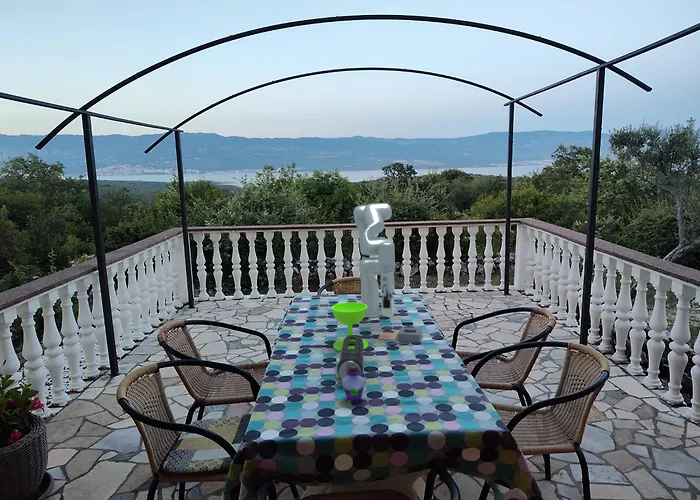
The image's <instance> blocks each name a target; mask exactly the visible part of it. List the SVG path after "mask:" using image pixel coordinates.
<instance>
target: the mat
mask: <svg viewBox="0 0 700 500" xmlns="http://www.w3.org/2000/svg"><path fill="white" fill-rule="evenodd" d="M397 338H398V332H385V331H384V332H383V331H382V332H381V333H380V334H379V336H378V337H377V340H378V341H393V342H394V341H396V339H397Z"/></svg>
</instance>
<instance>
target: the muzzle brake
mask: <svg viewBox="0 0 700 500" xmlns="http://www.w3.org/2000/svg"><path fill="white" fill-rule="evenodd" d="M344 338H345V339H344ZM344 338H343V339H344V341H343V345H342V350H341V351H340V358H339V360H338V363H337V367H336V369H337V374H338V376H339V378H341V380H342V378H345V377H347V376H349V375H347V369H349V368H348V367H349V366H351V365H357V367H358V369H359V375H358V376H361V377H363V373H364V350H365V349H364V343H363V340H364V339H363V338H361V336H359V335H356V334H353V335H350V336H348V335H347V336H346V337H344ZM362 339H363V340H362ZM349 340H356V341H349ZM349 346H355V349H348V347H349ZM363 349H364V350H363Z"/></svg>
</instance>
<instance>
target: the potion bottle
mask: <svg viewBox="0 0 700 500" xmlns="http://www.w3.org/2000/svg"><path fill="white" fill-rule="evenodd" d="M348 368H349V369H347V375H349V376H347V377H345V378H342V379H341V386H342V389H343V392H344V394H345V398H347V400H349V401H351V402H357V401H360V400H361V398H362V399H363V391H364V390H365V386H366V377H363V376H358V375H359V369H358V367H357V365H351V366H349V367H348ZM361 401H362V400H361ZM361 401H360V402H361Z"/></svg>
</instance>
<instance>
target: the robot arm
mask: <svg viewBox="0 0 700 500" xmlns="http://www.w3.org/2000/svg"><path fill="white" fill-rule="evenodd" d="M392 212H393V211H392V207H391V204H389V203H385V202H384V203H383V202H382V203H380V202H379V203H368V204H363V205H362V204H361V205H358V206H355V207H354V210H353V218H354V219H353V220H354V222H355V225H356V227H357V230H358V238H359V250H360V253H361V254H362V255H363V256H370V257H365V258H362V259H360V260H359V263H358V270H359V276H360V293H361V295H360V296H361V300H360V301H361V303H363V304H365V305H367V312H366V315H365V317H364V318H378V317H380V316H382V310H380V304H379V303H380V301H379V300H380V299H379V297H380V296H379V294H380V293H381V294H382V296H383V308H390V300H389V296H393V294H392V293H393V292H394V291H395V286H396V285H395V273H394V272H396V262H395V261H396V260H395V259H396V257H395V256H396V254H395V243H394V242H393V241H392V239H389V238H386V237H384V236H383V237H382V236H379V237H377V235H378V234H381V233H382V232H383V231H384V229H385V222H384V221H386V220H387V221H388V220H390V219H391V218H392V216H393V213H392ZM372 256H373V257H372ZM375 256H377V257H375ZM378 275H379V276H380V288H379V282H378V280H377V279H376V278H375V276H378ZM379 290H380V293H379Z"/></svg>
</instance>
